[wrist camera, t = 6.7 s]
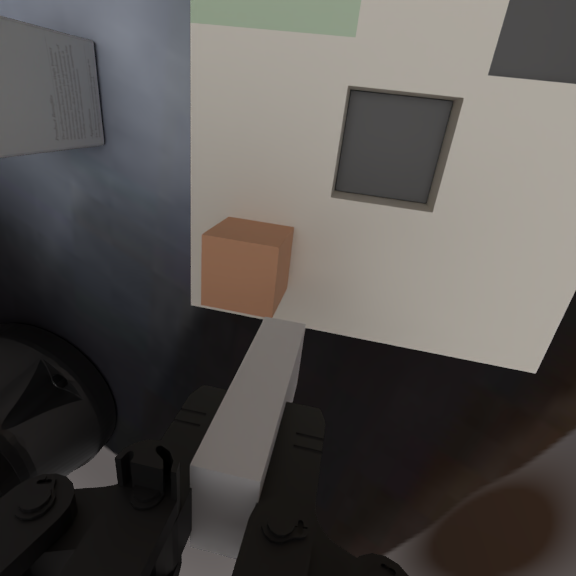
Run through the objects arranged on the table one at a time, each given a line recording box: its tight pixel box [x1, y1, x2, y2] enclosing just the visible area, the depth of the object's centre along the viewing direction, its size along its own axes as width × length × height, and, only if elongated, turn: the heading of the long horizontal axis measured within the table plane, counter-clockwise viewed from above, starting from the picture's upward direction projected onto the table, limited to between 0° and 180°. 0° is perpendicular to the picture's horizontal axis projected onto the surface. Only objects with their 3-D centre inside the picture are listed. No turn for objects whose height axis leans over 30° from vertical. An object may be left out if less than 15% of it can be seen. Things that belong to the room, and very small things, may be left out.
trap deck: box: [191, 0, 576, 373], centre depth 20 cm, size 22×22×4 cm
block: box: [201, 217, 294, 318], centre depth 21 cm, size 4×4×4 cm
